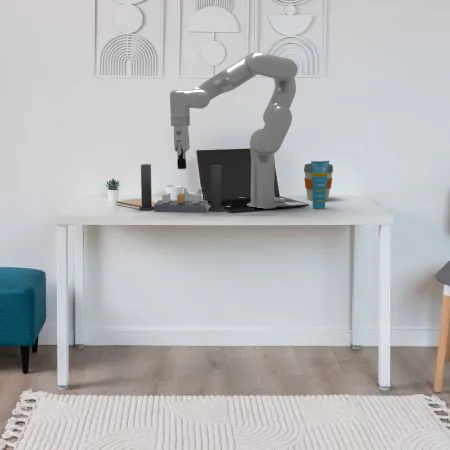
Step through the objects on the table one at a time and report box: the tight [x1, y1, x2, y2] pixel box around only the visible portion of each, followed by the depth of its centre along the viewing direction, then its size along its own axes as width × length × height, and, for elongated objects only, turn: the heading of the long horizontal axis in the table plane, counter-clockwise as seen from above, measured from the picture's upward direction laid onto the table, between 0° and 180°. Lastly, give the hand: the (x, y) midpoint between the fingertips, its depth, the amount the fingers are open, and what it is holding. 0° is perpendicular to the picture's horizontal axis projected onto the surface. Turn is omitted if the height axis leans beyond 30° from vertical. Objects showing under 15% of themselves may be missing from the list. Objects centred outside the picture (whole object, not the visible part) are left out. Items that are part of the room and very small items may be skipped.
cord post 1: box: [138, 163, 154, 212], centre depth 308 cm, size 6×6×18 cm
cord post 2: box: [208, 164, 225, 213], centre depth 305 cm, size 6×6×18 cm
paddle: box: [192, 194, 200, 204], centre depth 307 cm, size 2×5×3 cm, turn 175°
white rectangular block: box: [161, 192, 171, 203], centre depth 308 cm, size 2×5×3 cm, turn 174°
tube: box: [310, 160, 330, 210], centre depth 310 cm, size 7×5×19 cm, turn 104°
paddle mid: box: [176, 192, 185, 203], centre depth 307 cm, size 2×5×3 cm, turn 175°
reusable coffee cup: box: [303, 163, 334, 202], centre depth 333 cm, size 13×13×15 cm
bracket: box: [183, 186, 204, 201], centre depth 325 cm, size 13×7×8 cm, turn 176°
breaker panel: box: [153, 199, 209, 213], centre depth 308 cm, size 20×10×3 cm, turn 85°
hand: (181, 168), depth 305 cm, fingers closed
